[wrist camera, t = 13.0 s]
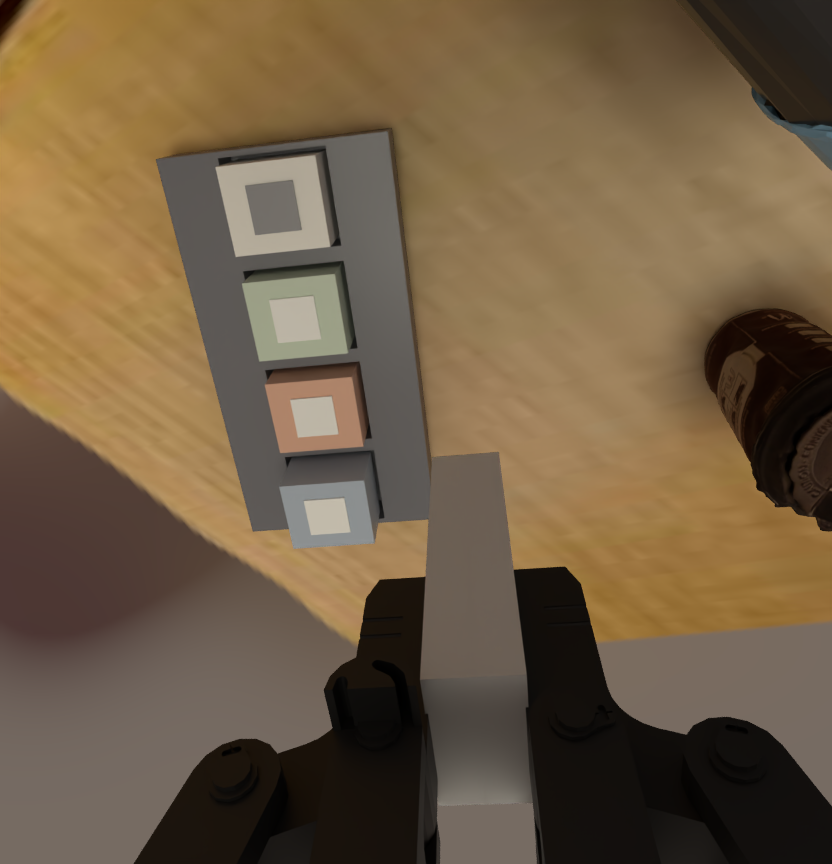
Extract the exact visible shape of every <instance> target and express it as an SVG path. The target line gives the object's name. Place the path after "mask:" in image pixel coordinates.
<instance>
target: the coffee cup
mask: <svg viewBox="0 0 832 864" xmlns="http://www.w3.org/2000/svg"><path fill="white" fill-rule="evenodd" d="M705 376H706V380H707V382H708V384H709V386H710V389H711V390H712V391H713V392H714V393H715V394H716V397H717V399H718V403H719V405H720V407H721V410H722V412H723V414H724V416H725V418H726V420H727V422H728V423H729V424H730V426H731V428H732V430H733V431H734V433H735V435H736V437H737V439H738V441H739V442H740V444H741V446H742V448H743V449H744V451H745V453H746V455H747V458H748V459H749V461H750V462H751V467H752V470H753V471H752V474H753V476H754V478H755V480H756V482H757V483H756V488H757V490H759V491H761V492H763V493H765V495H766V497H768V498H769V499H770V500H771V501H772V502H773V503H775V507H792V509H793V510H794V511H795V512H796V513H797V514H798V515H802V516H808V517H816V520H817V524H818V526H819V527H820V530H822V531H832V336H831V335H830V334H828V333H827V332H826V331H825V330H823V329H821V328H820V327H818V326H816V325H814V324H811V323H809V322H808V321H807V320H806V319H805V318H803V317H802V316H800V315H798V314H795V313H792V312H789V311H785V310H779V309H761V310H754V311H751V312H747V313H744V314H742V315H739V316H737V317H735V318H733V319H731V320H729V321H728V322H727V323H726V324H725V325H724V326H723V327H722V328H721V329H720V330H719V332H718V333H717V334H716V335H715V337H714V338H713V339H712V341H711V342H710V344H709V347H708V349H707V352H706V356H705Z"/></svg>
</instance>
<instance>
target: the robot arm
mask: <svg viewBox="0 0 832 864" xmlns="http://www.w3.org/2000/svg"><path fill="white" fill-rule="evenodd" d="M676 1H677V2H678V4H679V5H680V6H681V7H682V8H683V9H684V10H685V11H686V13H687V14H688V15H689V16H690V17H691V18H692V19H693V20H694V22H695V23H696V24H697V25H698V26H699V27H700V28H701V30H702V31H703V32H704V33H705V34H706V35H707V36H708V37H709V39H710V40H711V41H712V42H713V43H714V44H715V45H716V47H717V48H718V49H719V50H720V51H721V52H722V53H723V54H724V56H725V57H726V58H727V59H728V60H729V61H730V62H731V64H732V65H733V66H734V67H735V68H736V69H737V70H738V71H739V73H740V74H741V75H742V76H743V77H744V78H745V79H746V80H747V82H748V83H749V84H750V85H751V86H752V96H753V98H754V100H755V102H756V103H757V105H758V106H759V107H760V109H761V110H762V111H763V113H764V114H765V115H766V116H767V117H768V118H769V119H770V120H772V121H773V122H775V123H776V124H777V125H781V126H782V127H784V128H785V129H787V130H788V131H790V132H791V133H794V134H796V135H797V136H798V137H799V138H800V139H801V140H802V141H803V142H804V143H805V144H806V145H807V147H808V148H809V149H810V150H811V151H812V152H813V153H814V154H815V155H816V156H817V157H818V158H819V159H820V160H821V161H822V162H823V163H824V164H825V165H826V166H827V167H828V168H829V169H830V170H832V0H676ZM324 693H325V698H326V702H327V706H328V710H329V714H330V719H331V723H332V727H333V728H332V729H331V730H330V731H329V732H327V733H326V734H325V735H323V736H322V737H320V738H319V739H317V740H314V741H312V742H310V743H307V744H305V745H302V746H299V747H296V748H293V749H290V750H287V751H284V752H281V753H278V754H277V753H276V751H275V750H274V749H273V748H272V747H271V745H270V744H267V743H265V742H262V741H260V740H258V739H238V740H235V741H232V742H229V743H226V744H223V745H221V746H219V747H218V748H216V749H215V750H214V751H212V752H210V753H209V754H207V755H206V756H205V757H204V758H203V759H202V760H201V762H200V763H199V764H198V765H197V766H196V767H195V769H194V770H193V771H192V773H191V775H190V776H189V778H188V779H187V781H186V782H185V784H184V785H183V787H182V789H181V790H180V792H179V793H178V795H177V796H176V798H175V800H174V801H173V803H172V804H171V806H170V808H169V809H168V811H167V812H166V814H165V815H164V817H163V819H162V820H161V822H160V823H159V825H158V826H157V828H156V829H155V831H154V833H153V834H152V836H151V837H150V839H149V840H148V842H147V844H146V845H145V847H144V848H143V850H142V851H141V853H140V855H139V856H138V858H137V859H136V861H135V862H134V864H440V837H439V831H438V825H437V796H438V802H439V806H450V805H483V804H516V803H533V809H534V819H535V836H536V854H537V864H832V806H831V805H830V804H829V802H828V801H827V800H826V799H825V797H824V796H823V795H822V794H821V792H820V791H819V790H818V789H817V787H816V786H815V785H814V784H813V782H812V781H811V780H810V779H809V778H808V776H807V775H806V774H805V773H804V771H803V770H802V769H801V768H800V766H799V765H798V764H797V763H796V761H795V760H794V759H793V758H792V756H791V755H790V754H789V753H788V751H787V750H786V749H785V748H784V746H783V745H782V744H781V743H779V742H778V741H777V740H776V739H775V738H774V737H773V736H772V735H771V734H770V733H769V732H767V731H766V730H764V729H762V728H760V727H758V726H756V725H754V724H752V723H750V722H748V721H744V720H740V719H735V718H730V717H718V718H708V719H706V720H704V721H702V722H700V723H698V724H696V725H694V726H693V727H692V728H691V729H690V731H689V732H688V734H687V735H685V734H680V733H676V732H672V731H668V730H663V729H659V728H656V727H652V726H650V725H647V724H644V723H642V722H640V721H638V720H636V719H634V718H632V717H631V716H629V715H628V714H627V713H626V712H624V711H623V710H622V709H621V708H620V707H619V706H618V705H617V704H616V702H615V701H614V700H613V698H612V697H611V695H610V692H609V690H608V687H607V684H606V680H605V676H604V672H603V668H602V665H601V661H600V657H599V654H598V650H597V645H596V641H595V637H594V633H593V629H592V626H591V623H590V618H589V614H588V610H587V608H586V602H585V598H584V594H583V590H582V587H581V583H580V582H579V581H578V580H577V579H576V578H575V577H574V576H573V575H572V574H571V573H570V571H569V570H568V569H567V568H566V567H550V568H534V569H518V570H513V562H512V554H511V546H510V538H509V530H508V522H507V514H506V506H505V498H504V490H503V482H502V474H501V466H500V458H499V452H492V453H479V454H466V455H453V456H440V457H432V469H431V487H430V505H429V524H428V542H427V560H426V577H417V578H401V579H384V580H379V582H378V583H377V584H376V586H375V587H374V588H373V590H372V591H371V592H370V594H369V595H368V596H367V598H366V602H365V608H364V614H363V623H362V626H361V632H360V639H359V644H358V650H357V656H356V658H354V659H352V660H350V661H349V662H346V663H345V664H343V665H341V666H340V667H339V668H338V669H337V670H336V671H335V672H334V673H333V674H332V675H331V676H330V677H329V680H328V682H327V684H326V686H325V688H324Z"/></svg>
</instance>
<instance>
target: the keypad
mask: <svg viewBox="0 0 832 864" xmlns="http://www.w3.org/2000/svg"><path fill="white" fill-rule="evenodd" d="M323 149H326V152H327V158H328V165H329V171H330V177H331V184H332V190H333V196H334V202H335V209H336V215H337V221H338V228H339V234H340V235H339V236H338V237H337V239H336V240H335V241H334V243H333V244H332V245H331V247H324V248H315V249H305V250H296V251H287V252H277V253H268V254H259V255H249V256H240V257H236V256H235V252H234V247H233V243H232V238H231V234H230V229H229V225H228V221H227V216H226V212H225V207H224V203H223V199H222V194H221V190H220V185H219V181H218V176H217V172H216V168H215V167H217V166H220V165H223V164H226V163H229V162H232V161H234V160H240V159H248V158H257V157H265V156H273V155H282V154H290V153H298V152H306V151H315V150H323ZM156 162H157V166H158V169H159V173H160V177H161V181H162V185H163V189H164V192H165V196H166V200H167V204H168V208H169V212H170V215H171V219H172V223H173V227H174V231H175V235H176V238H177V242H178V246H179V250H180V254H181V258H182V261H183V265H184V269H185V273H186V277H187V281H188V284H189V288H190V292H191V296H192V300H193V304H194V307H195V311H196V315H197V319H198V323H199V327H200V330H201V334H202V338H203V342H204V346H205V350H206V353H207V357H208V361H209V365H210V369H211V373H212V376H213V380H214V384H215V388H216V392H217V396H218V399H219V403H220V407H221V411H222V415H223V419H224V422H225V426H226V430H227V434H228V438H229V441H230V445H231V449H232V453H233V457H234V461H235V464H236V468H237V472H238V476H239V480H240V484H241V487H242V491H243V495H244V499H245V503H246V507H247V510H248V514H249V518H250V522H251V526H252V530H253V531H266V530H281V529H289V527H288V522H287V518H286V514H285V510H284V505H283V501H282V497H281V492H280V488H279V486H280V484H281V481H282V479H283V477H284V474H285V472H286V470H287V467H288V465H289V463H290V460H291V458H292V457H300V456H312V455H325V454H338V453H350V452H363V451H371V457H372V463H373V469H374V475H375V482H376V488H377V494H378V500H379V506H380V514H379V520H378V523H382V522H396V521H411V520H425V519H429V505H430V487H431V469H432V464H431V455H430V447H429V438H428V430H427V421H426V413H425V405H424V396H423V388H422V379H421V371H420V362H419V354H418V346H417V337H416V329H415V320H414V312H413V303H412V295H411V286H410V278H409V270H408V261H407V253H406V244H405V236H404V227H403V219H402V211H401V202H400V194H399V185H398V177H397V168H396V160H395V151H394V143H393V135H392V128H389V129H381V130H373V131H365V132H356V133H348V134H340V135H332V136H324V137H315V138H307V139H299V140H291V141H283V142H274V143H266V144H258V145H250V146H242V147H233V148H225V149H217V150H209V151H201V152H192V153H184V154H176V155H171V156H167V157H163V158H159V159H156ZM336 261H344V265H345V272H346V278H347V284H348V291H349V297H350V303H351V309H352V316H353V322H354V328H355V337H354V339H353V342H352V344H351V347H350V349H349V352H348V353H347V354H336V355H325V356H314V357H303V358H292V359H282V360H271V361H260V362H259V357H258V353H257V349H256V344H255V340H254V335H253V331H252V327H251V322H250V318H249V313H248V309H247V304H246V300H245V296H244V291H243V287H242V283H243V282H244V281H245V280H246V279H247V278H248V277H249V276H250V275H251V274H252V273H253V272H254V271H255V270H260V269H270V268H279V267H289V266H298V265H308V264H317V263H327V262H336ZM359 361H360V366H361V372H362V379H363V385H364V391H365V398H366V404H367V410H368V416H369V426H368V430H367V434H366V438H365V442H364V446H363V447H351V448H339V449H326V450H314V451H301V452H289V453H280V450H279V446H278V441H277V437H276V432H275V428H274V424H273V419H272V415H271V410H270V406H269V401H268V397H267V393H266V388H265V383H266V382H267V380H268V379H269V377H270V375H271V374H272V372H273V371H274V369H282V368H293V367H304V366H315V365H326V364H337V363H348V362H359Z"/></svg>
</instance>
